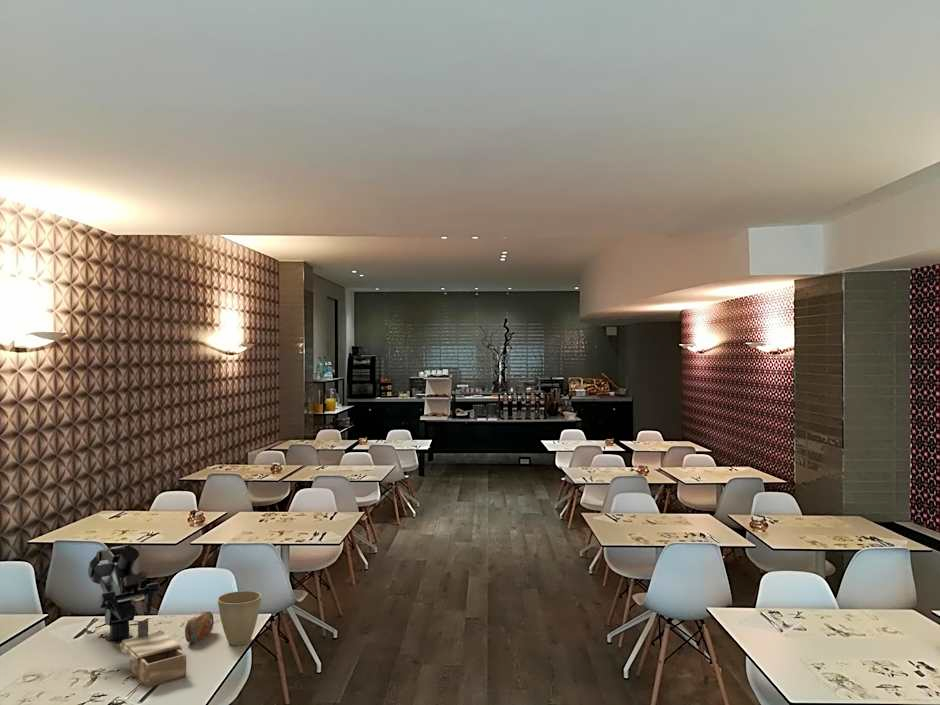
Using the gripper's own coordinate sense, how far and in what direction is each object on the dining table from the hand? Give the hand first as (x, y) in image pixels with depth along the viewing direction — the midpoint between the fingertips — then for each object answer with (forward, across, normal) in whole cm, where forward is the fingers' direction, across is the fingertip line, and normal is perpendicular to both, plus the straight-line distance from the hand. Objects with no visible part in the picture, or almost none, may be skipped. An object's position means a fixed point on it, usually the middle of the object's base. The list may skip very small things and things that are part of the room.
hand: (135, 616), depth 253 cm
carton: (+25, 0, -7) cm, 26 cm away
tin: (+10, +22, +9) cm, 25 cm away
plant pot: (+19, +31, -1) cm, 36 cm away
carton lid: (+16, 0, -6) cm, 17 cm away
